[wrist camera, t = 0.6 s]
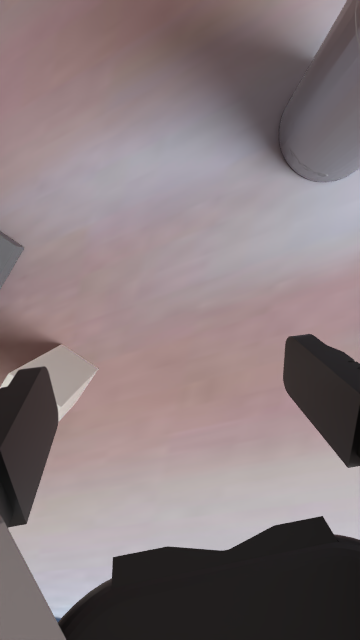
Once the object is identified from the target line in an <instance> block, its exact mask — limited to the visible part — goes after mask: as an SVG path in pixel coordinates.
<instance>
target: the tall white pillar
mask: <svg viewBox="0 0 360 640" xmlns="http://www.w3.org/2000/svg"><path fill="white" fill-rule="evenodd" d="M43 366H45V367H46V368H47V370H48V372H49V375H50V379H51V383H52V387H53V391H54V395H55V399H56V403H57V408H58V422H59V421H60V420H61V419H62V418H63V416H64V415H65V414H66V413H67V412H68V411H69V410H70V409H71V408H72V406H73V405H74V404H75V403H76V402H77V400H78V399H79V397H80V396H81V394H82V393H83V391H84V390H85V388H86V387H87V385H88V384H89V382H90V381H91V379H92V378H93V376H94V375H95V373H96V372H97V370H98V369H99V368H97V367H96V366H94V365H93V364H91V363H90V362H88V361H87V360H85V359H84V358H82V357H81V356H79V355H78V354H76V353H75V352H73V351H72V350H70V349H69V348H67V347H66V346H64V345H63V344H61V345H59V346H57V347H56V348H54V349H52V350H50V351H48V352H47V353H45V354H43V355H41V356H39V357H37V358H36V359H34V360H32V361H30V362H28V363H27V364H25V365H23V366H21V367H19V368H17V369H16V370H14V371H12V372H10V373H9V374H8V375H7V377H6V379H5V380H4V382H3V383H2V385H1V387H0V388H2V387H8V385H9V384H10V382H11V381H12V379H13V377H14V376H15V374H16V373H17V371H18V370H20V369H27V368H35V367H43Z"/></svg>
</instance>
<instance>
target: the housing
mask: <svg viewBox="0 0 360 640" xmlns="http://www.w3.org/2000/svg"><path fill="white" fill-rule="evenodd" d="M23 249H24V247H23V246H21V245H20V244H18V243H17V242H15V241H14V240H12V239H11V238H9V237H8V236H6V235H5V234H3V233H2V232H1V231H0V289H1V287H2V285H3V283H4V282H5V280H6V278H7V277H8V275H9V273H10V271H11V270H12V268H13V266H14V265H15V263H16V261H17V259H18V258H19V256H20V254H21V253H22V251H23Z"/></svg>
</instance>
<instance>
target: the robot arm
mask: <svg viewBox="0 0 360 640" xmlns="http://www.w3.org/2000/svg"><path fill="white" fill-rule="evenodd" d="M279 141H280V147H281V151H282V153H283V156H284V158H285V160H286V161H287V163H288V164H289V166H290V167H291V168H292V169H293V170H294V171H295V172H296V173H298V174H299V175H301V176H303V177H304V178H306V179H309V180H313V181H316V182H330V181H336V180H339V179H342V178H344V177H347V176H348V175H350V174H351V173H353V172H355V171H356V170H358V169H360V0H347V1H346V3H345V5H344V7H343V8H342V10H341V12H340V14H339V15H338V17H337V19H336V21H335V22H334V24H333V26H332V28H331V29H330V31H329V33H328V35H327V36H326V38H325V40H324V42H323V43H322V45H321V47H320V49H319V50H318V52H317V54H316V56H315V57H314V59H313V61H312V63H311V64H310V66H309V68H308V70H307V71H306V73H305V75H304V76H303V78H302V80H301V81H300V83H299V85H298V87H297V88H296V90H295V92H294V94H293V95H292V97H291V99H290V101H289V102H288V104H287V106H286V108H285V110H284V113H283V115H282V118H281V122H280V127H279ZM283 381H284V386H285V389H286V391H287V393H288V394H289V396H290V397H291V398H292V399H293V401H294V402H295V403H296V404H297V406H298V407H299V408H300V409H301V410H302V412H303V413H304V414H305V415H306V417H307V418H308V419H309V420H310V422H311V423H312V424H313V425H314V426H315V428H316V429H317V430H318V431H319V433H320V434H321V435H322V436H323V438H324V439H325V440H326V441H327V443H328V444H329V445H330V446H331V447H332V449H333V450H334V451H335V452H336V454H337V455H338V456H339V457H340V459H341V460H342V461H343V462H344V463H345V465H346V466H347V467H348V468H350V467H355V466H360V364H359V363H358V362H355V361H354V359H352V358H351V357H349V356H348V355H347V354H345V353H344V352H342V351H340V350H337V349H335V348H332V347H330V346H327V345H326V344H324V343H323V342H322V341H320V340H319V339H318V338H316V337H315V336H313V335H312V334H306V335H298V336H290V337H288V338H287V340H286V344H285V358H284V372H283ZM57 426H58V408H57V403H56V399H55V395H54V391H53V387H52V383H51V379H50V375H49V372H48V370H47V368H46V367H45V366H43V367H35V368H27V369H20V370H18V371H17V373H16V374H15V376H14V377H13V379H12V381H11V382H10V384H9V385H8V387H2V388H0V640H360V540H358V539H355V538H351V537H346V536H341V535H334V534H333V533H332V531H331V529H330V528H329V526H328V524H327V523H326V521H325V519H324V518H323V516H321V517H316V518H311V519H306V520H300V521H295V522H290V523H285V524H280V525H275V526H273V527H271V528H269V529H267V530H265V531H263V532H261V533H259V534H258V535H256V536H254V537H252V538H250V539H248V540H246V541H244V542H243V543H241V544H239V545H237V546H235V547H233V548H231V549H229V550H225V551H217V550H204V549H192V548H179V547H163V548H158V549H153V550H148V551H143V552H138V553H133V554H127V555H122V556H117V557H113V570H112V579H110V580H108V581H106V582H104V583H102V584H101V585H99V586H98V587H96V588H95V589H93V590H92V591H90V592H89V593H88V594H87V595H85V596H84V597H83V598H82V599H81V600H79V601H78V602H77V603H76V604H75V605H74V606H73V607H72V608H71V609H70V610H69V611H68V612H67V613H66V614H65V615H64V616H63V617H62V618H61V620H60V621H59V622H58V623H57V621H56V619H55V617H54V615H53V613H52V612H51V610H50V608H49V606H48V604H47V602H46V600H45V598H44V596H43V594H42V593H41V591H40V589H39V587H38V585H37V583H36V581H35V579H34V577H33V575H32V573H31V572H30V570H29V568H28V566H27V564H26V562H25V560H24V558H23V556H22V554H21V553H20V551H19V549H18V547H17V545H16V543H15V541H14V539H13V537H12V535H11V534H10V532H9V530H8V527H12V526H18V525H24V524H27V521H28V517H29V514H30V511H31V508H32V505H33V502H34V499H35V495H36V492H37V489H38V486H39V483H40V480H41V477H42V474H43V470H44V467H45V464H46V461H47V458H48V455H49V452H50V448H51V445H52V442H53V439H54V436H55V433H56V430H57Z"/></svg>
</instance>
